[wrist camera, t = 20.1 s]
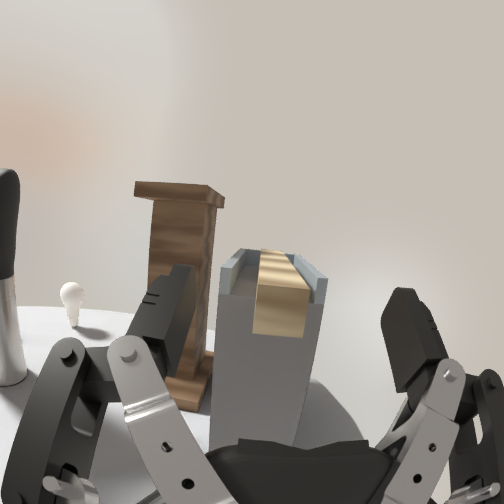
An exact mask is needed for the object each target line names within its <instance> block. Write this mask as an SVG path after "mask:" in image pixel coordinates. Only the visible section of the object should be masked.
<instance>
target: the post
mask: <svg viewBox="0 0 504 504" xmlns="http://www.w3.org/2000/svg"><path fill="white" fill-rule="evenodd" d="M134 196H135V197H140V198H145V199H149V200H154V203H153V214H152V223H151V236H150V248H149V265H148V266H149V267H148V288H149V286H150V284H151V283H152V282H153V281H154V280H155V279H156V278H157V277H159V276H160V275H167V276H169V274H170V272H171V270H172V268H173V266H174V264H175V263H178V264H186V265H194V266H195V273H196V287H197V303H196V309H195V312H194V315H193V319H192V322H191V325H190V328H189V331H188V335H187V338H186V341H185V345H184V348H183V351H182V355H181V358H180V361H179V365H178V368H177V372H176V375H175V378H172V377H167V376H166V378H165V382H164V383H165V385H166V388H167V390H168V392H169V394H170V395H171V397H172V398H173V400H174V402H175V403H176V405H177V407H178V409H182V410H187V411H192V412H197V413H198V411H199V408H200V405H201V402H202V399H203V397H204V394H205V391H206V388H207V385H208V383H209V380H210V377H211V374H212V371H213V361H214V352H210V351H205V348H206V331H207V316H208V303H209V289H210V277H211V266H212V265H211V264H212V254H213V243H214V233H215V224H216V213H217V208H224V200H225V197H223V196H222V195H220V194H219V193H218V192H216V191H215V190H213V189H212V188H211V187H209V186H208V185H198V184H182V183H164V182H163V183H162V182H140V181H139V182H138V181H136V182H135V189H134ZM148 288H147V289H148Z"/></svg>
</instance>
